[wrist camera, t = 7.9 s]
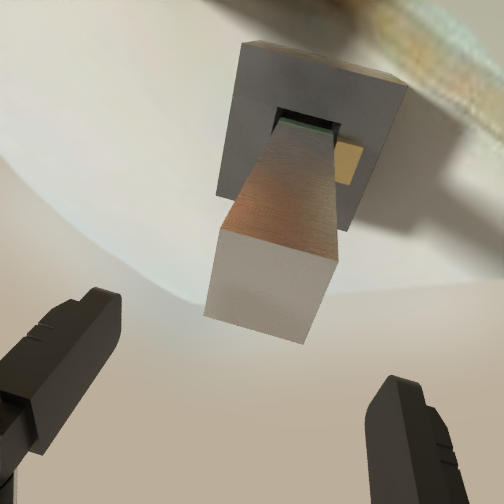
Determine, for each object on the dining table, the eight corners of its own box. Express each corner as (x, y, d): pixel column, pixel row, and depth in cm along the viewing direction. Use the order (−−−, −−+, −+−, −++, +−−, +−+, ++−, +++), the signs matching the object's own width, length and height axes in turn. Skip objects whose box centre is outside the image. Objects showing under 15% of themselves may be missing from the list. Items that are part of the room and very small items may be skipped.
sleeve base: (391, 74, 32) (411, 88, 24) (343, 196, 38) (347, 238, 31) (259, 40, 32) (238, 43, 24) (235, 166, 39) (212, 200, 31)
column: (333, 130, 27) (339, 261, 12) (316, 180, 29) (303, 345, 14) (280, 116, 27) (219, 227, 12) (268, 167, 29) (203, 315, 14)
